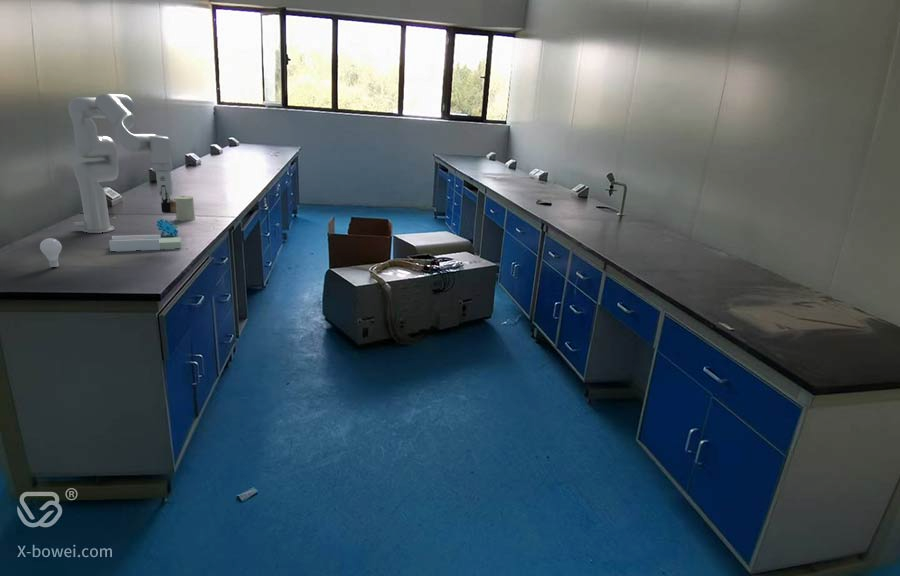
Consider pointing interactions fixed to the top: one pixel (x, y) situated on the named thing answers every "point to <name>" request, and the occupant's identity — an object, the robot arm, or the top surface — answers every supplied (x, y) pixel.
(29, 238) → the top surface
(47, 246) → the lightbulb
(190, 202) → the can
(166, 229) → the gear
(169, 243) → the trough
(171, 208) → the block
